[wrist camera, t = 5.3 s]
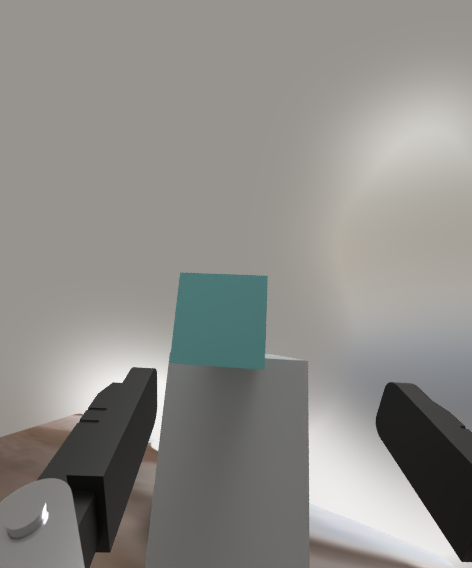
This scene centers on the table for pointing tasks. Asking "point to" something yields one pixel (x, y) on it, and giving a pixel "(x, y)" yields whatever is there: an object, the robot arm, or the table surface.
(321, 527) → the table surface
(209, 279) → the block
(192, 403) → the pedestal
